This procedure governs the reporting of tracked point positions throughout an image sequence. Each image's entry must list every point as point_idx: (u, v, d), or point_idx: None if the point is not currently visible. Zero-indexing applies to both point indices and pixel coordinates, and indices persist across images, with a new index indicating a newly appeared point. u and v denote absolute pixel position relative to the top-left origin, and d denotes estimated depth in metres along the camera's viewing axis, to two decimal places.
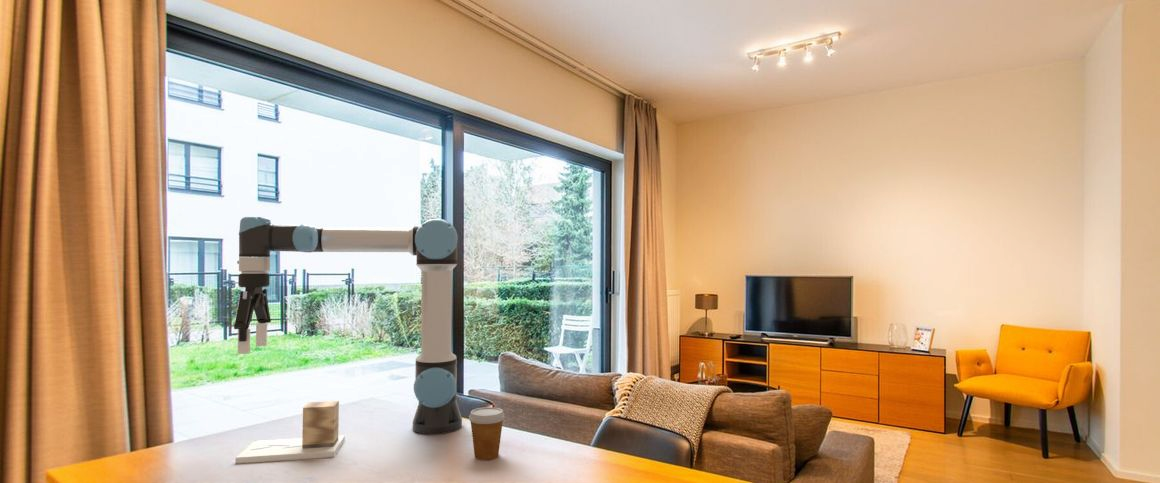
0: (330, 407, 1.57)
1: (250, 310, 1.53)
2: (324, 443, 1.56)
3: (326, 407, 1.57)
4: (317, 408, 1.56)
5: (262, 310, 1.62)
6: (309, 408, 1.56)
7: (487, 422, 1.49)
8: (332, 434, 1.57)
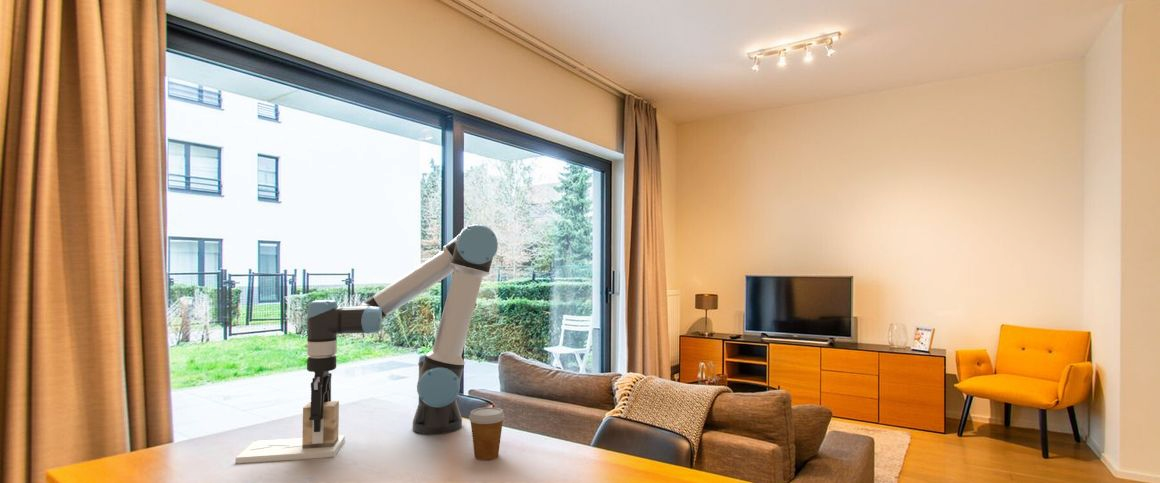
0: (330, 407, 1.57)
1: (321, 398, 1.56)
2: (324, 443, 1.56)
3: (326, 407, 1.57)
4: None
5: (326, 395, 1.62)
6: (309, 408, 1.56)
7: (487, 422, 1.49)
8: (332, 434, 1.57)
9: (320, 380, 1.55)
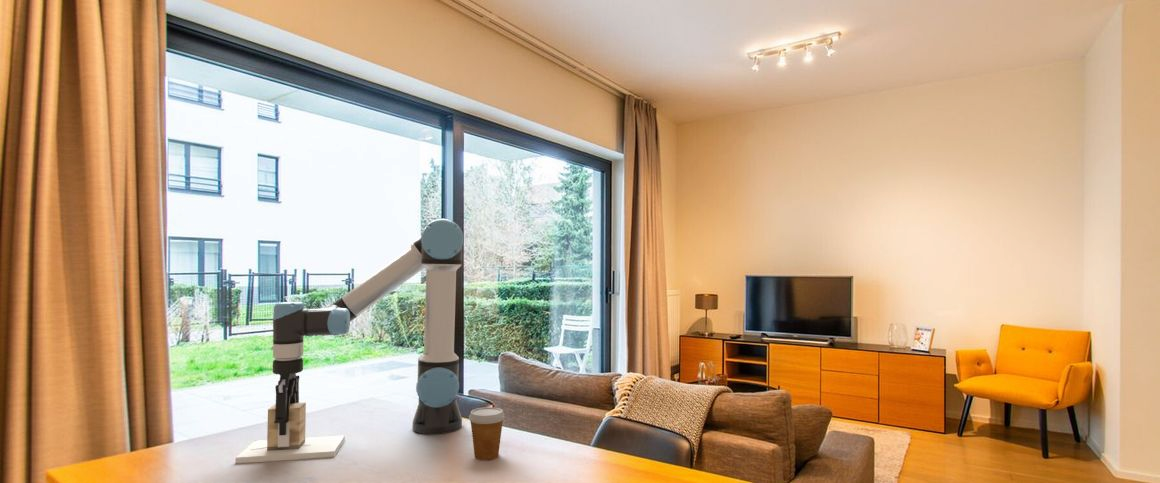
0: (295, 409, 1.55)
1: (287, 401, 1.54)
2: (289, 445, 1.54)
3: (291, 409, 1.55)
4: None
5: (293, 398, 1.60)
6: (274, 410, 1.54)
7: (487, 422, 1.49)
8: (297, 436, 1.55)
9: (285, 383, 1.54)
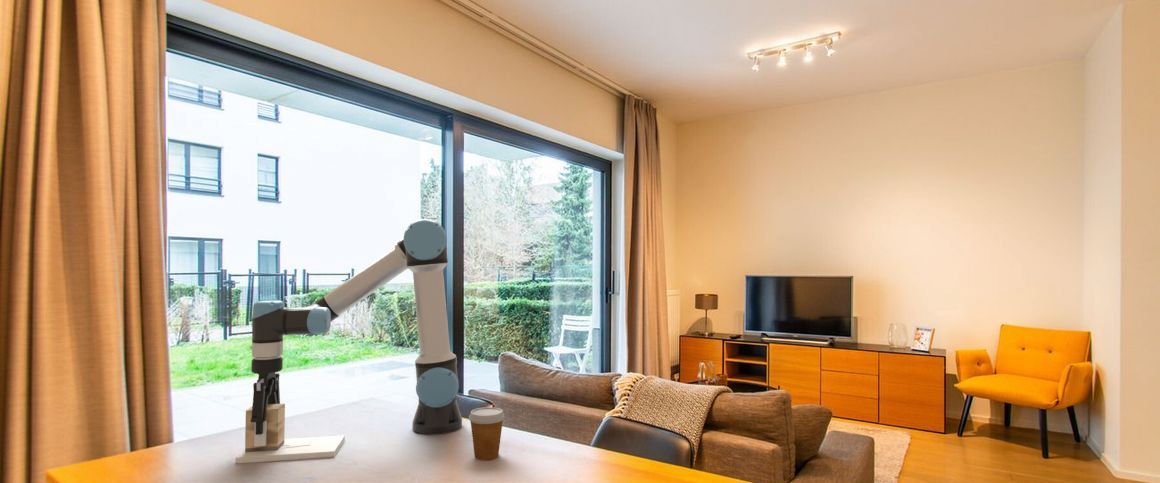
0: (274, 410, 1.54)
1: (265, 400, 1.53)
2: (268, 446, 1.53)
3: (270, 410, 1.54)
4: None
5: (273, 396, 1.59)
6: None
7: (487, 422, 1.49)
8: (276, 437, 1.54)
9: (264, 381, 1.52)
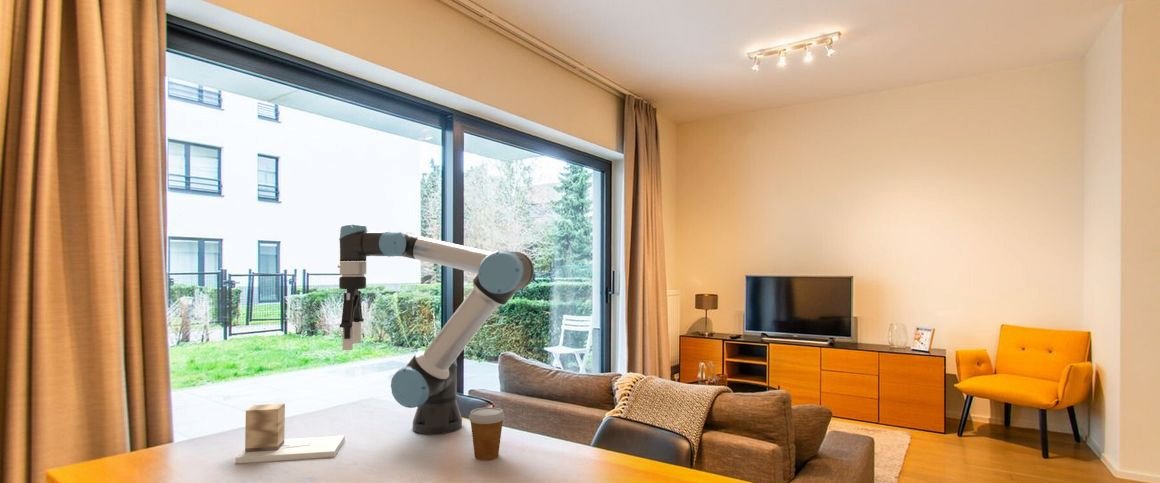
0: (274, 410, 1.54)
1: (352, 310, 1.67)
2: (268, 446, 1.53)
3: (270, 410, 1.54)
4: (260, 411, 1.53)
5: (358, 310, 1.76)
6: (252, 411, 1.53)
7: (487, 421, 1.49)
8: (276, 437, 1.54)
9: None
